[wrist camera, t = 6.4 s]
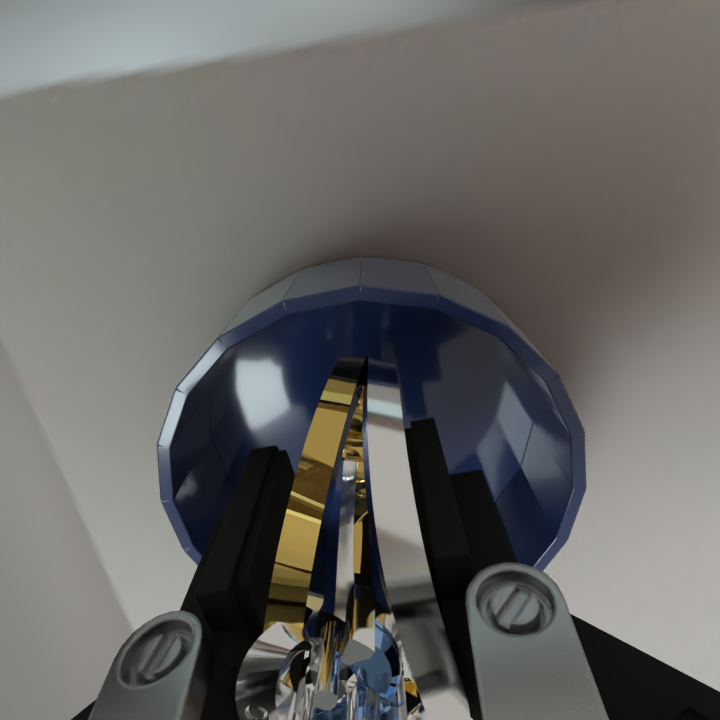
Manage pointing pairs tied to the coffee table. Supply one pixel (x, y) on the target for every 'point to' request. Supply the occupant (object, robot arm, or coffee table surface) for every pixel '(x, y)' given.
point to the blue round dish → (417, 393)
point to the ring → (353, 575)
